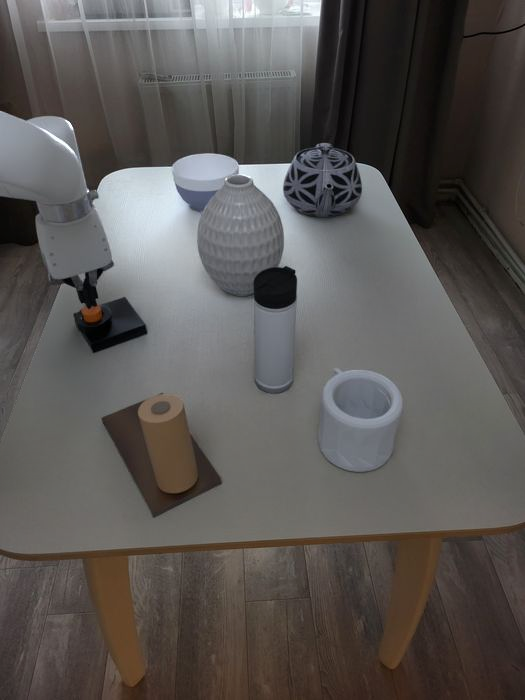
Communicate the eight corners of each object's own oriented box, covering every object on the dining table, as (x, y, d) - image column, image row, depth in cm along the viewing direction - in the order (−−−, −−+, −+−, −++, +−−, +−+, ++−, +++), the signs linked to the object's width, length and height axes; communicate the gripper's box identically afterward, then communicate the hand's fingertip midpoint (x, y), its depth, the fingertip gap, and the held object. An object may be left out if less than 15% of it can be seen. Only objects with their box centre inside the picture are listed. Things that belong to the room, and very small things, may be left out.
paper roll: (150, 474, 75) (166, 500, 71) (131, 404, 69) (147, 428, 65) (187, 456, 78) (205, 481, 73) (172, 387, 71) (190, 409, 67)
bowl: (187, 187, 146) (183, 151, 139) (246, 192, 143) (245, 155, 137) (167, 215, 134) (162, 177, 128) (231, 221, 131) (229, 182, 125)
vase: (287, 267, 116) (290, 163, 101) (277, 314, 104) (279, 204, 89) (211, 261, 118) (203, 159, 103) (192, 306, 106) (181, 197, 91)
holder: (153, 518, 71) (152, 513, 71) (102, 422, 84) (101, 417, 83) (221, 483, 75) (221, 479, 75) (163, 397, 88) (162, 392, 87)
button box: (89, 354, 95) (84, 336, 93) (71, 324, 102) (66, 306, 99) (147, 334, 100) (144, 316, 97) (126, 305, 106) (123, 288, 104)
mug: (407, 460, 78) (420, 412, 72) (338, 483, 75) (344, 435, 69) (361, 396, 88) (368, 348, 81) (298, 414, 85) (301, 366, 78)
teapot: (283, 238, 125) (285, 174, 116) (281, 180, 149) (283, 123, 139) (368, 238, 125) (377, 174, 115) (353, 180, 148) (359, 123, 139)
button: (87, 325, 96) (84, 317, 95) (81, 315, 98) (79, 307, 97) (105, 319, 97) (103, 311, 96) (98, 309, 99) (96, 302, 98)
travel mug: (302, 378, 91) (308, 275, 78) (275, 399, 87) (277, 295, 74) (273, 361, 94) (275, 259, 81) (246, 381, 90) (243, 277, 77)
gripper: (103, 184, 89) (123, 280, 101) (7, 207, 83) (40, 306, 95) (120, 202, 84) (139, 301, 96) (19, 228, 78) (52, 329, 90)
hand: (90, 303), depth 96 cm, fingers closed
